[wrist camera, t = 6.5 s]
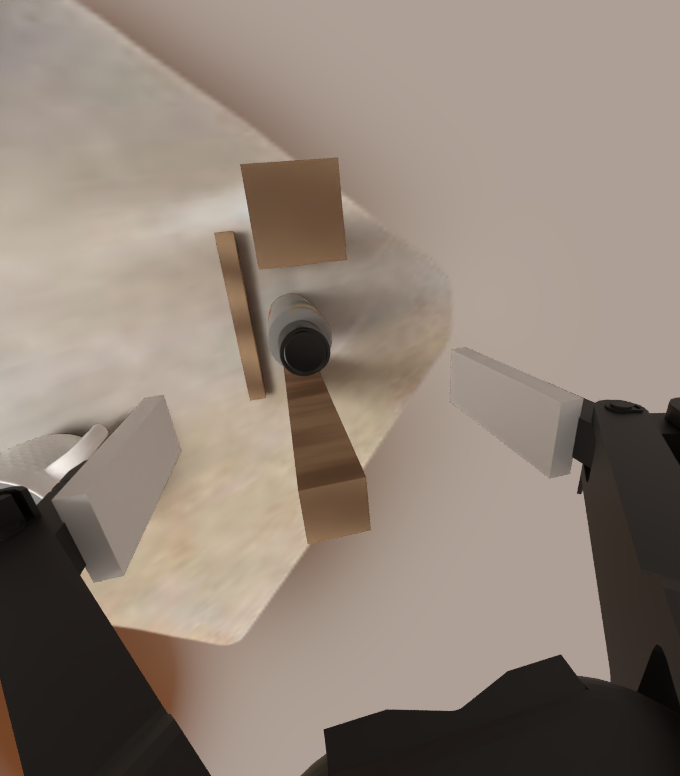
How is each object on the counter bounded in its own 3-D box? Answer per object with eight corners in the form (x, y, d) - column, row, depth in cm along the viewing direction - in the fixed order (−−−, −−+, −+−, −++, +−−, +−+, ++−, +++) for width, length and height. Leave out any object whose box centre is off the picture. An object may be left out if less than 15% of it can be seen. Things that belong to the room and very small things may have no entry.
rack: (216, 234, 39) (106, 173, 13) (295, 226, 40) (338, 157, 14) (251, 395, 46) (224, 563, 20) (316, 384, 47) (370, 530, 21)
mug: (82, 381, 41) (4, 429, 29) (158, 436, 45) (117, 498, 33) (2, 459, 43) (-104, 536, 31) (83, 506, 47) (17, 590, 35)
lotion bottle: (275, 342, 44) (278, 399, 26) (263, 299, 42) (256, 326, 24) (317, 332, 45) (350, 379, 26) (307, 288, 43) (334, 307, 24)
